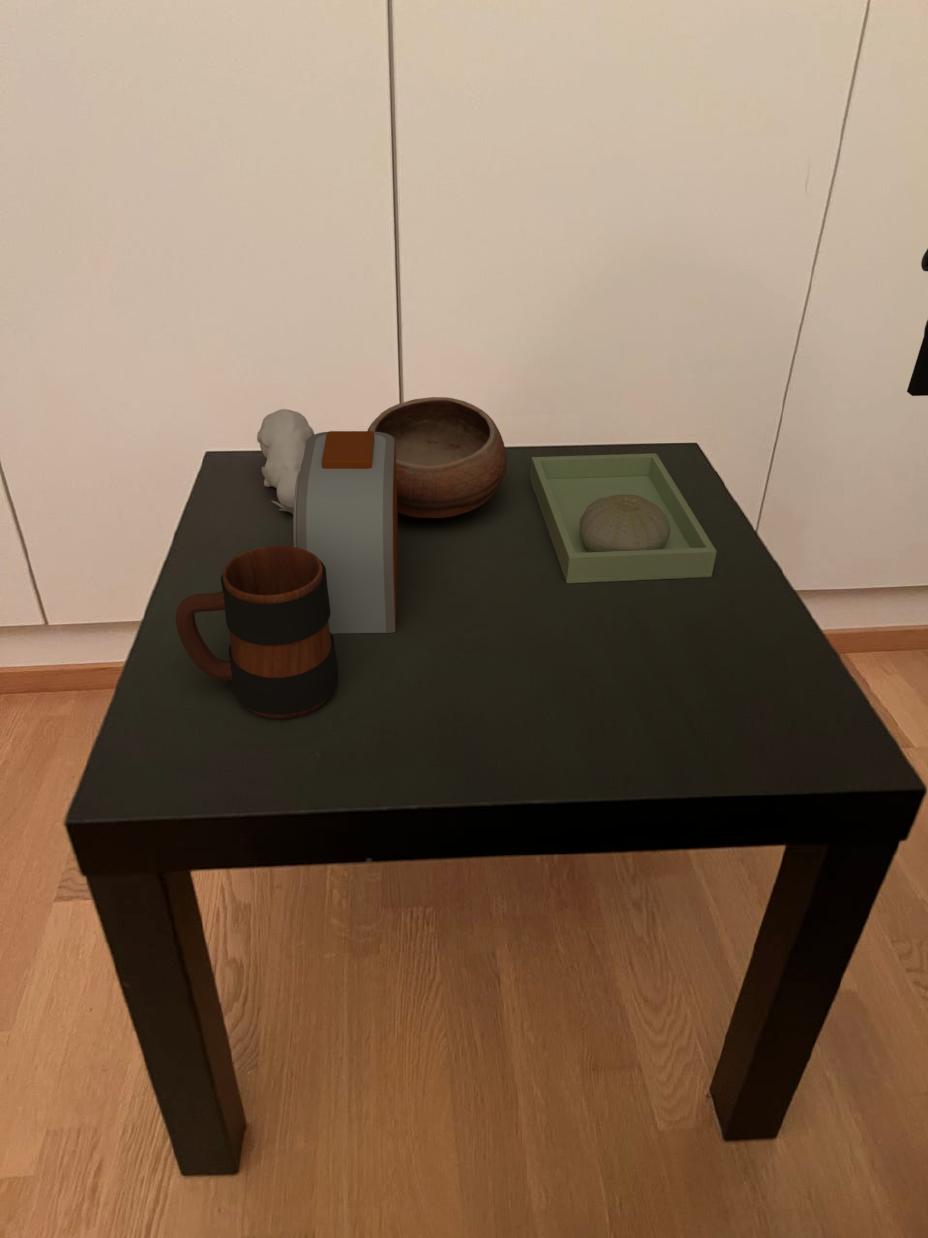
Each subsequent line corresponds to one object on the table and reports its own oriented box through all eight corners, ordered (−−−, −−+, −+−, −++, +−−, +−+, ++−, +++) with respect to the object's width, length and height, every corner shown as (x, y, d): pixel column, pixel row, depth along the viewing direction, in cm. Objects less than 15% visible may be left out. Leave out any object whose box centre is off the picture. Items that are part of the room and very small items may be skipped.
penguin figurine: (310, 400, 105) (323, 456, 96) (315, 466, 111) (328, 525, 102) (252, 404, 104) (260, 461, 95) (260, 470, 110) (268, 531, 101)
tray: (711, 577, 94) (717, 551, 92) (566, 583, 92) (569, 557, 90) (652, 476, 111) (656, 452, 109) (530, 480, 110) (531, 456, 108)
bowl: (346, 531, 99) (341, 444, 94) (380, 465, 112) (377, 384, 106) (494, 546, 98) (498, 458, 92) (512, 477, 110) (516, 395, 104)
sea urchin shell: (695, 532, 96) (662, 498, 90) (647, 595, 96) (611, 565, 90) (633, 495, 102) (599, 460, 96) (588, 555, 102) (551, 523, 96)
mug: (190, 669, 80) (168, 551, 74) (331, 650, 83) (322, 535, 76) (191, 737, 74) (167, 615, 67) (345, 714, 76) (337, 594, 69)
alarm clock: (315, 546, 97) (304, 423, 89) (398, 546, 97) (395, 423, 89) (300, 633, 85) (287, 499, 77) (396, 632, 85) (392, 499, 77)
